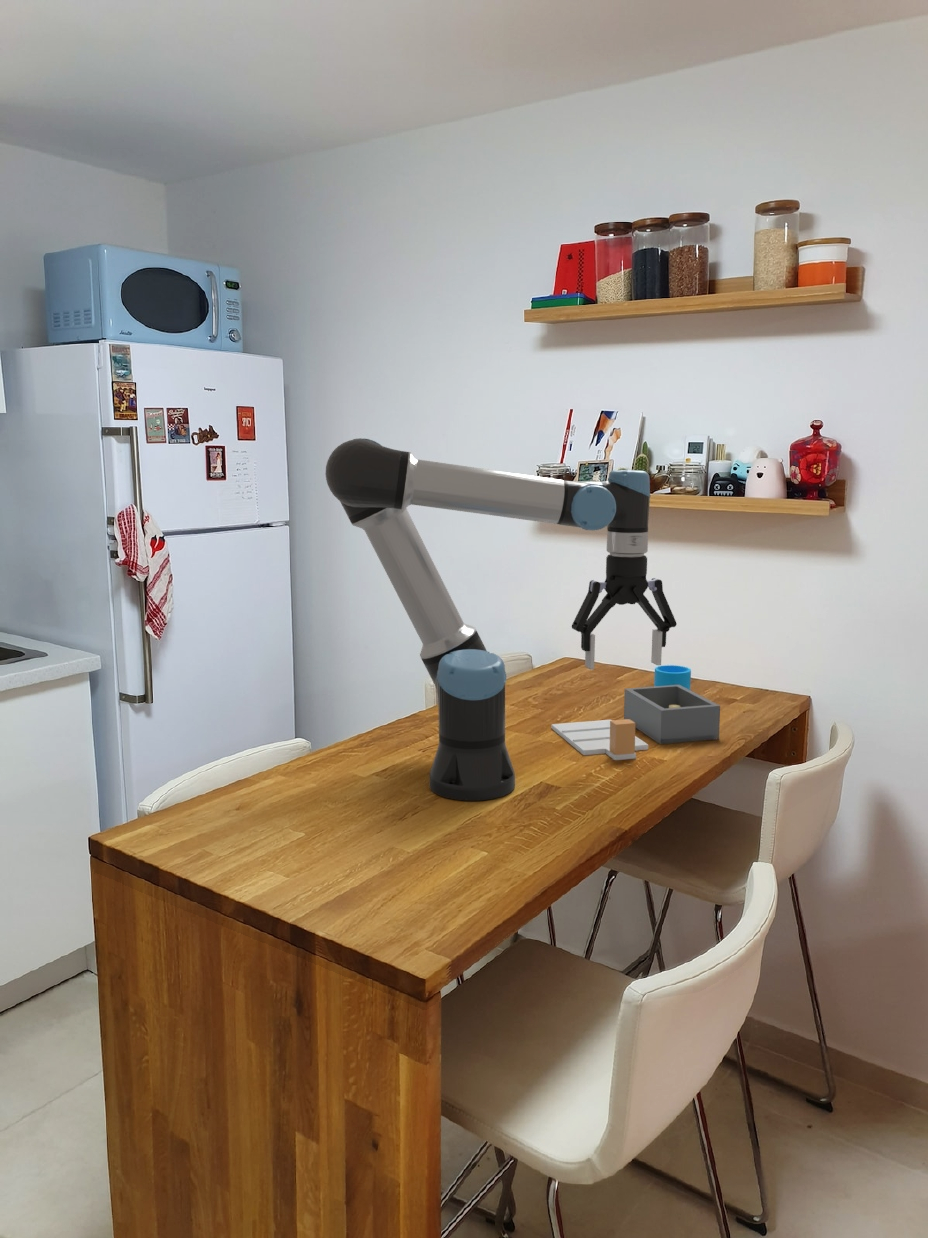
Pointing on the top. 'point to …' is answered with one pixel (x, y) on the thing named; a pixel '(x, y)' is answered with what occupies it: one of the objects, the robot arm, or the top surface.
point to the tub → (672, 714)
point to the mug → (672, 676)
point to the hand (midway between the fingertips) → (623, 666)
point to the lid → (602, 737)
